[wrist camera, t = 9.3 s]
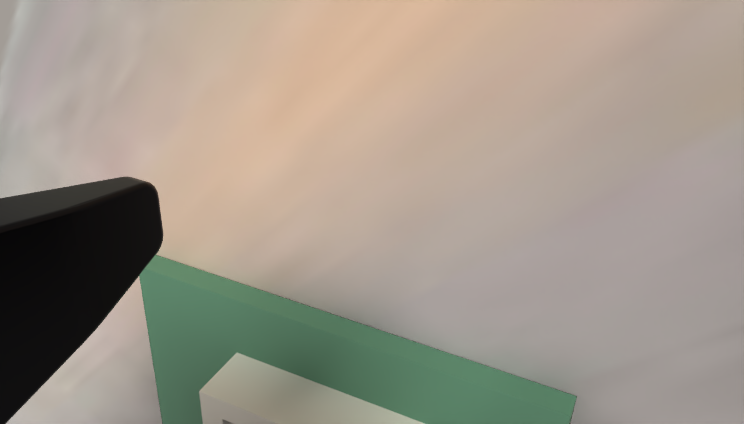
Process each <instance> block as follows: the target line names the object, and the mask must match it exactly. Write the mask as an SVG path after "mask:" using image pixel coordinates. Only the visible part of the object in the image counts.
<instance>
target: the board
mask: <svg viewBox="0 0 744 424" xmlns="http://www.w3.org/2000/svg"><path fill="white" fill-rule="evenodd" d="M139 277H140V283H141V289H142V296H143V302H144V309H145V315H146V321H147V328H148V334H149V340H150V347H151V353H152V360H153V366H154V372H155V379H156V385H157V391H158V398H159V404H160V411H161V417H162V423H163V424H570V422H571V418H572V414H573V410H574V406H575V402H576V398H577V396H574V395H571V394H568V393H565V392H562V391H559V390H556V389H553V388H550V387H547V386H544V385H541V384H538V383H535V382H532V381H530V380H527V379H524V378H521V377H518V376H515V375H512V374H509V373H506V372H503V371H500V370H497V369H494V368H491V367H488V366H485V365H482V364H479V363H476V362H473V361H470V360H467V359H464V358H461V357H458V356H455V355H452V354H449V353H446V352H443V351H440V350H437V349H434V348H431V347H428V346H425V345H422V344H419V343H416V342H413V341H410V340H407V339H405V338H402V337H399V336H396V335H393V334H390V333H387V332H384V331H381V330H378V329H375V328H372V327H369V326H366V325H363V324H360V323H357V322H354V321H351V320H348V319H345V318H342V317H339V316H336V315H333V314H330V313H327V312H324V311H321V310H318V309H315V308H312V307H309V306H306V305H303V304H300V303H297V302H294V301H291V300H288V299H285V298H282V297H280V296H277V295H274V294H271V293H268V292H265V291H262V290H259V289H256V288H253V287H250V286H247V285H244V284H241V283H238V282H235V281H232V280H229V279H226V278H223V277H220V276H217V275H214V274H211V273H208V272H205V271H202V270H199V269H196V268H193V267H190V266H187V265H184V264H181V263H178V262H175V261H172V260H169V259H166V258H163V257H160V256H157V255H155V256H154V257H153V259H152V260H151V261H150V262H149V264H148V265H147V266H146V267H145V269H144V270H143V271H142V272H141V274H140V275H139Z"/></svg>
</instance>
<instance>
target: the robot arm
mask: <svg viewBox="0 0 744 424" xmlns="http://www.w3.org/2000/svg"><path fill="white" fill-rule="evenodd" d="M162 241H163V228H162V220H161V213H160V205H159V197H158V192H157V190H156V188H155V187H154V186H153V185H152V184H151V183H149V182H146V181H142V180H139V179H136V178H132V177H120V178H114V179H108V180H103V181H97V182H91V183H86V184H80V185H74V186H69V187H63V188H57V189H51V190H46V191H40V192H34V193H29V194H23V195H17V196H12V197H6V198H0V424H6V423H7V422H8V421H9V420H10V418H11V417H12V416H13V415H14V414H15V413H16V412H17V411H18V410H19V409H20V408H21V407H22V406H23V405H24V404H25V403H26V402H27V401H28V400H29V399H30V398H31V397H32V396H33V395H34V394H35V393H36V392H37V391H38V389H39V388H40V387H41V386H42V385H43V384H44V383H45V382H46V381H47V380H48V379H49V378H50V377H51V376H52V375H53V374H54V373H55V372H56V371H57V370H58V369H59V368H60V367H61V366H62V365H63V364H64V363H65V361H66V360H67V359H68V358H69V357H70V356H71V355H72V354H73V353H74V352H75V351H76V350H77V349H78V348H79V347H80V346H81V345H82V344H83V343H84V342H85V341H86V340H87V338H88V337H89V336H90V335H91V334H92V333H93V332H94V331H95V330H96V329H97V327H98V326H99V325H100V324H101V323H102V321H103V320H104V319H105V318H106V317H107V315H108V314H109V313H110V311H111V310H112V309H113V308H114V306H115V305H116V304H117V303H118V301H119V300H120V299H121V298H122V296H123V295H124V294H125V293H126V291H127V290H128V289H129V288H130V286H131V285H132V284H133V283H134V281H135V280H136V279H137V278H138V276H139V275H140V274H141V272H142V271H143V270H144V269H145V267H146V266H147V265H148V264H149V262H150V261H151V260H152V259H153V257H154V256H155V255H156V254H157V252H158V251H159V249H160V247H161V244H162Z"/></svg>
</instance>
